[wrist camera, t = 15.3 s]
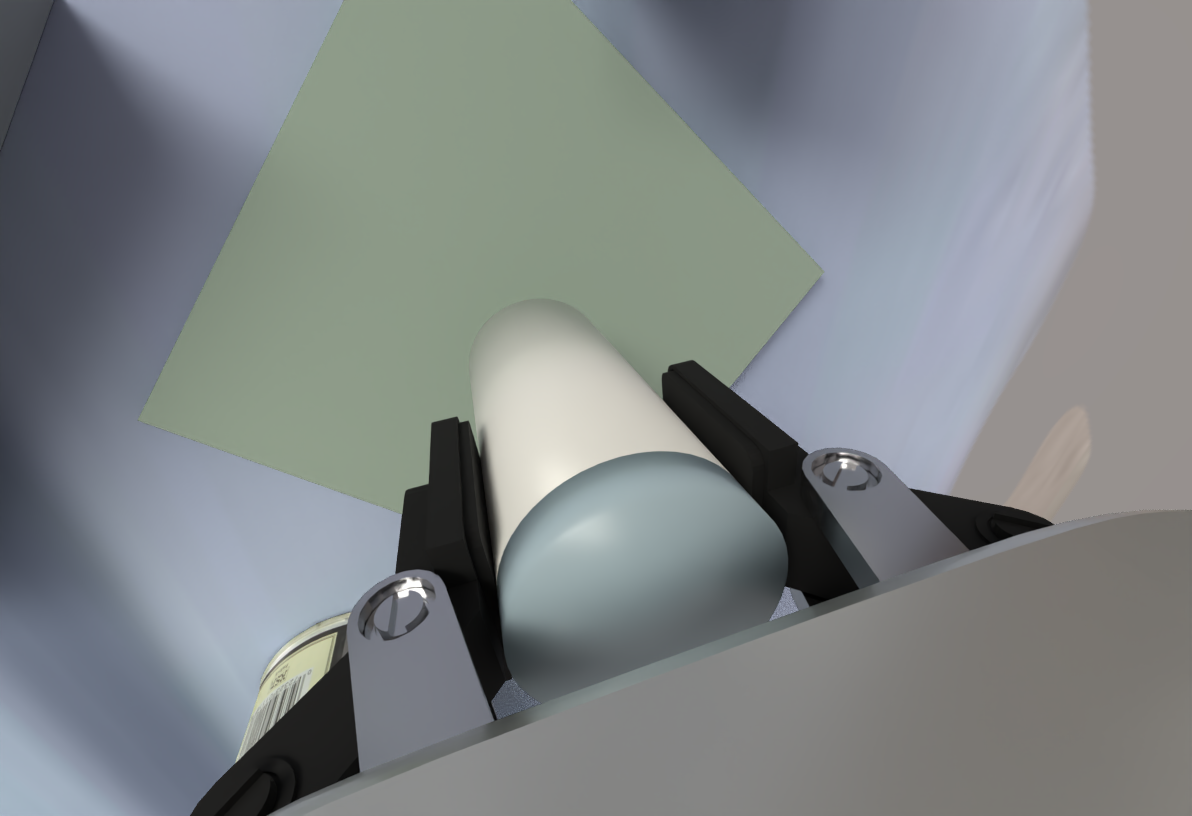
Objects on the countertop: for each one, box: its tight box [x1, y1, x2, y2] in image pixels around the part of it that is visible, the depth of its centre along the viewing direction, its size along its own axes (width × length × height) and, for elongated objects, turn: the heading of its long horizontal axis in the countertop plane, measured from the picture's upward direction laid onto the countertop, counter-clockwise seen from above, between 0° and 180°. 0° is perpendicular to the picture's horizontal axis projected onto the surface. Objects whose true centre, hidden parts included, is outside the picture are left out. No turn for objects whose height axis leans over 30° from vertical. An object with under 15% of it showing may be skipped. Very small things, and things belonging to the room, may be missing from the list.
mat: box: [138, 0, 824, 514], centre depth 18 cm, size 18×18×1 cm
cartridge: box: [469, 299, 788, 703], centre depth 11 cm, size 4×4×10 cm
